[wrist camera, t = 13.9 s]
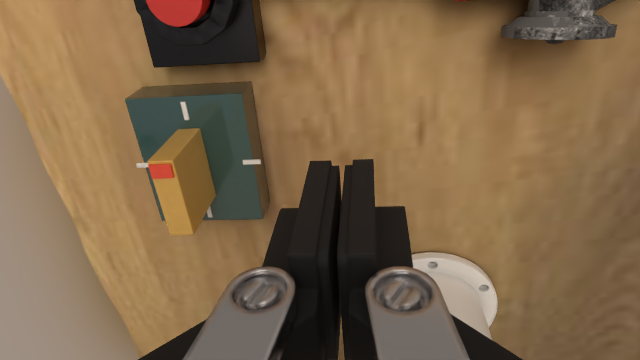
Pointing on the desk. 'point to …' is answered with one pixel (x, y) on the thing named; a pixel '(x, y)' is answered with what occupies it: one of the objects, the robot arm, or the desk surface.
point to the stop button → (178, 11)
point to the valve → (560, 21)
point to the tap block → (208, 140)
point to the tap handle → (183, 181)
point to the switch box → (207, 35)
